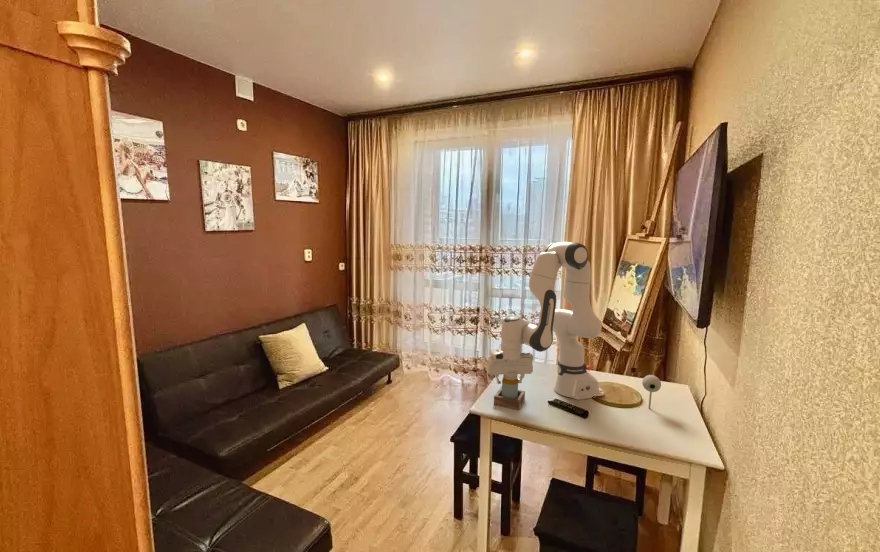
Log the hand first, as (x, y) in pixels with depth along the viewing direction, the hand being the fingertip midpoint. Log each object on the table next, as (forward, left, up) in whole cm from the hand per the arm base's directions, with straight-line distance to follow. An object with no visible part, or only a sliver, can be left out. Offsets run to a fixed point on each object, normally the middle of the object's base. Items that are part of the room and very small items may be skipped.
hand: (509, 383), depth 169 cm
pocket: (-1, 0, -9) cm, 9 cm away
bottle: (-1, 0, -9) cm, 9 cm away
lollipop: (-60, +12, -9) cm, 61 cm away
